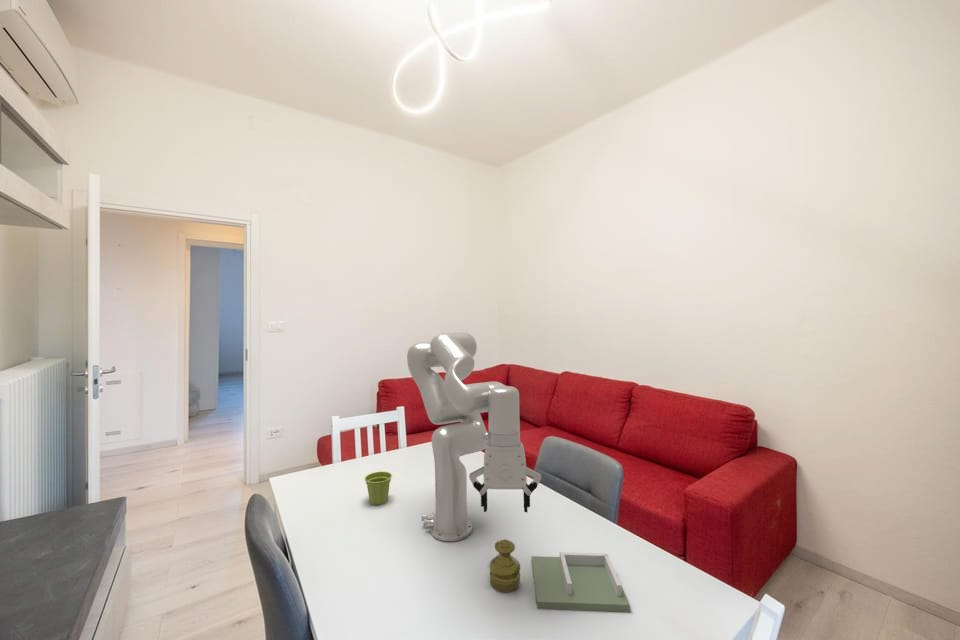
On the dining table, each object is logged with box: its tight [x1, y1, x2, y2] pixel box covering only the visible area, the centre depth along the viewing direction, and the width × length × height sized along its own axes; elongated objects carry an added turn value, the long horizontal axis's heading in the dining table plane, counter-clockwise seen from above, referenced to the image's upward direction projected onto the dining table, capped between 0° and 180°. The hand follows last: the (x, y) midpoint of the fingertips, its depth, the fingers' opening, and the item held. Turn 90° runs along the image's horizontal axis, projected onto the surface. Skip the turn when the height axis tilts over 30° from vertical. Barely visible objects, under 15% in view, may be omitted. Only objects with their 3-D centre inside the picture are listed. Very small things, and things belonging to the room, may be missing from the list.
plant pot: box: [364, 471, 393, 506], centre depth 134 cm, size 9×9×9 cm
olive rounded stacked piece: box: [489, 538, 521, 593], centre depth 92 cm, size 7×8×10 cm
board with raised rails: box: [531, 551, 631, 613], centre depth 91 cm, size 20×16×4 cm
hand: (505, 509), depth 92 cm, fingers open, 9 cm apart
